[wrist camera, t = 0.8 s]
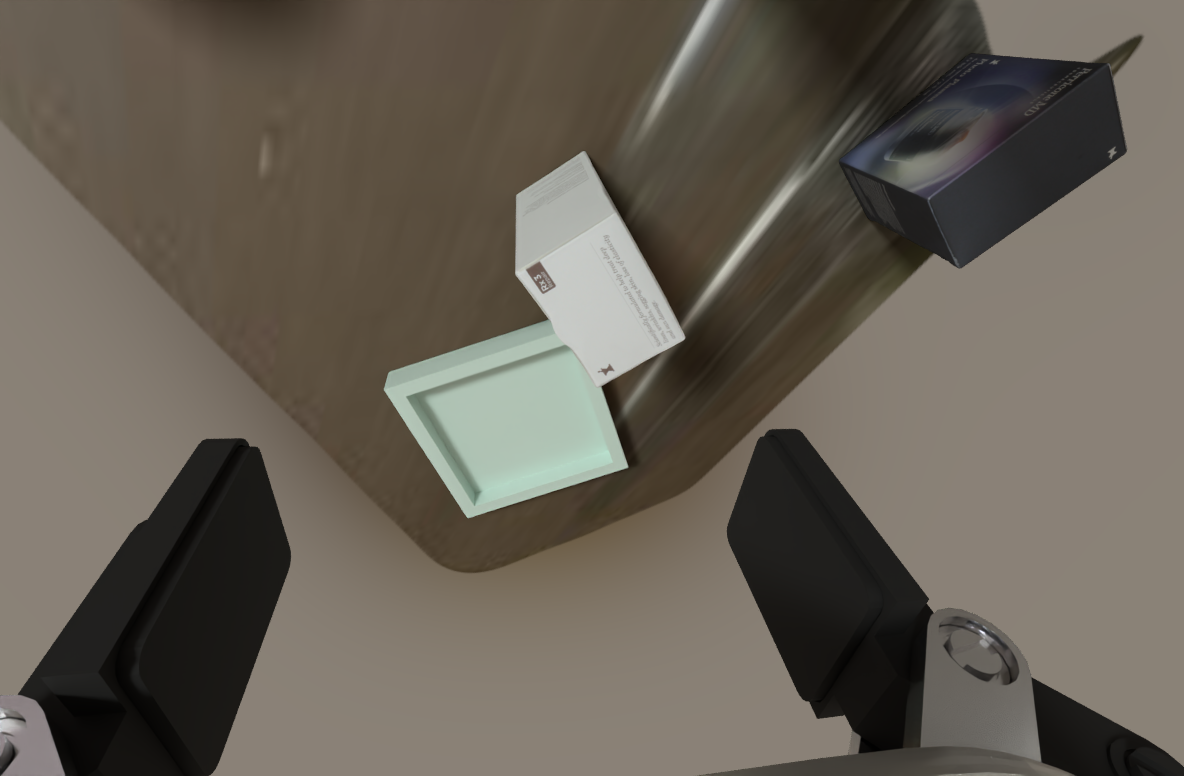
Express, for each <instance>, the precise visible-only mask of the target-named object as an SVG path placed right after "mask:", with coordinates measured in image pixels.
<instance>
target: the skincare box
mask: <svg viewBox="0 0 1184 776" xmlns="http://www.w3.org/2000/svg"><path fill="white" fill-rule="evenodd" d="M515 274H516V276H517V277H518V278H519V280H520V281H521V282H522V284H523V285H524V286H525V288H526V289H527V290H528V292H529V293H530V294H531V296H532V297H533V298H534V299H535V301H536V302H537V304H538V305H539V306H540V308H541V309H542V310H543V312H544V313H545V315H546V316H547V317H548V319H549V320H550V322H551V323H552V326H553V329H554V331H555V333H556V335H557V336H558V338H559V339H560V340H561V341H562V342H563V343H564V344H565V345H566V346H568V347H569V348H570V349H571V350H572V352H573V353H574V355H575V356H576V357H577V359H578V360H579V362H580V363H581V364H582V366H583V367H584V369H585V371H586V372H587V374H588V376H589V378H590V379H591V381H592V383H593V384H594V385H595V387H597V388H599V387H601V386H603V385H604V384H606V383H608V382H609V381H611V380H613V379H615V378H617V377H619V376H620V375H622V374H624V373H626V372H627V371H629V370H631V369H633V368H634V367H636V366H638V365H639V364H641V363H643V362H645V361H646V360H648V359H650V358H652V357H653V356H655V355H657V354H659V353H661V352H663V351H665V350H667V349H669V348H671V347H673V346H674V345H676V344H678V343H680V342H681V341H683V340H684V339H685V335H684V333H683V331H682V329H681V327H680V325H679V323H678V321H677V319H676V317H675V315H674V313H673V311H672V309H671V307H670V305H669V303H668V301H667V299H666V297H665V295H664V293H663V291H662V289H661V288H660V286H659V284H658V282H657V280H656V278H655V277H654V275H653V273H652V271H651V269H650V267H649V266H648V264H647V262H646V260H645V259H644V257H643V255H642V253H641V252H640V250H639V248H638V246H637V244H636V243H635V241H634V239H633V237H632V235H631V234H630V232H629V230H628V228H627V226H626V225H625V223H624V221H623V219H622V218H621V216H620V214H619V212H618V210H617V209H616V207H615V205H614V203H613V202H612V200H611V198H610V196H609V194H608V193H607V191H606V189H605V187H604V185H603V184H602V182H601V180H600V178H599V176H598V174H597V172H596V171H595V169H594V167H593V165H592V163H591V161H590V159H589V157H588V155H587V153H586V152H585V151H583V152H581V153H580V154H578V155H577V156H575V157H574V158H572V159H571V160H569V161H568V162H566V163H565V164H563V165H562V166H560V167H559V168H557V169H556V170H554V171H553V172H551V173H550V174H548V175H546V176H545V177H543V178H542V179H540V180H539V181H537V182H536V183H534V184H533V185H531V186H530V187H528V188H527V189H525V190H523V191H522V192H520V193H519V194H517V195H516V271H515Z"/></svg>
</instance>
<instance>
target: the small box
mask: <svg viewBox="0 0 1184 776" xmlns="http://www.w3.org/2000/svg"><path fill="white" fill-rule="evenodd" d="M1126 152H1127V146H1126V142H1125V137H1124V132H1123V128H1122V121H1121V117H1120V112H1119V107H1118V101H1117V97H1116V91H1115V86H1114V81H1113V76H1112V71H1111V66H1110V64H1109V63H1086V62H1076V61H1062V60H1049V59H1048V60H1047V59H1033V58H1022V57H1010V56H998V55H986V54H975V53H971V54H969V55H968V56H967V57H966V58H964V59H963V60H962V61H961V62H959V63H958V64H957V65H956V66H955V67H953V68H952V69H951V70H950V71H948V72H947V73H946V74H945V75H943V76H942V77H941V78H940V79H939V80H937V81H936V82H935V83H934V84H932V85H931V86H930V87H929V88H928V89H926V90H925V91H924V92H922V93H921V94H920V95H919V96H918V97H917V98H915V99H914V100H913V101H911V102H910V103H909V104H908V105H907V106H905V107H904V108H903V109H902V110H900V111H899V112H898V113H897V114H895V115H894V116H893V117H892V118H891V119H889V120H888V121H887V122H886V123H884V124H883V125H882V126H881V127H879V128H878V129H877V130H876V131H874V132H873V133H872V134H871V135H869V136H868V137H867V138H866V139H865V140H863V141H862V142H861V143H860V144H858V145H857V146H856V147H855V148H853V149H852V150H851V151H850V152H848V153H847V154H846V155H845V156H844V157H842V158H841V159H840V160H839V163H840V165H841V167H842V170H843V171H844V173H845V175H846V177H847V179H848V181H849V183H850V185H851V187H852V189H853V191H854V193H855V195H856V196H857V198H858V200H859V202H860V204H861V206H862V208H863V210H864V212H865V214H866V215H867V217H868V219H870V220H872V221H876V222H877V223H879V224H881V225H883V226H886V227H887V228H888V229H890V230H892V231H894V232H896V233H898V234H900V235H901V236H903V237H905V238H907V239H909V240H911V241H912V242H914V243H916V244H918V245H919V246H921V247H923V248H925V249H928V250H929V251H931V252H933V253H935V254H937V255H938V256H940V257H941V258H943V259H945V260H947V261H949V262H950V263H951V264H953V265H954V266H956V267H957V268H962V267H963V266H965V265H966V264H968V263H969V262H971V261H972V260H974V259H975V258H977V257H978V256H979V255H981V254H982V253H984V252H985V251H986V250H988V249H989V248H991V247H992V246H993V245H995V244H996V243H998V242H999V241H1001V240H1002V239H1004V238H1005V237H1006V236H1008V235H1009V234H1011V233H1012V232H1014V231H1015V230H1016V229H1018V228H1019V227H1021V226H1022V225H1024V224H1025V223H1026V222H1028V221H1030V220H1031V219H1032V218H1034V217H1035V216H1037V215H1038V214H1039V213H1041V212H1042V211H1044V210H1045V209H1047V208H1048V207H1050V206H1051V205H1052V204H1054V203H1055V202H1057V201H1058V200H1060V199H1061V198H1062V197H1064V196H1065V195H1067V194H1068V193H1070V192H1071V191H1072V190H1074V189H1075V188H1077V187H1078V186H1079V185H1081V184H1082V183H1084V182H1085V181H1087V180H1088V179H1090V178H1091V177H1092V176H1094V175H1095V174H1097V173H1098V172H1100V171H1101V170H1103V169H1104V168H1106V167H1107V166H1108V165H1110V164H1111V163H1113V162H1114V161H1115V160H1117V159H1118V158H1120V157H1121V156H1123V155H1124V154H1125V153H1126Z"/></svg>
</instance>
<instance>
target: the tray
mask: <svg viewBox="0 0 1184 776" xmlns="http://www.w3.org/2000/svg"><path fill="white" fill-rule="evenodd" d="M384 391H385V392H386V394H387V395H388V397H389V398H390V400H391V401H392V403H393V404H394V406H395V408H396V409H397V411H398V412H399V414H400V415H401V417H402V418H403V420H404V421H405V423H406V424H407V426H408V428H409V429H410V431H411V432H412V434H413V435H414V437H415V438H416V440H417V441H418V443H419V444H420V446H421V447H422V449H423V451H424V452H425V454H426V455H427V457H428V458H429V460H430V461H431V463H432V464H433V466H434V467H435V469H436V471H437V472H438V474H439V475H440V477H441V478H442V480H443V481H444V483H445V484H446V486H447V487H448V489H449V490H450V492H451V494H452V495H453V497H454V498H455V500H456V501H457V503H458V504H459V506H460V507H461V509H462V510H463V512H464V514H465V515H466V517H467V518H470V517H473V516H476V515H479V514H483V513H486V512H489V511H492V510H495V509H498V508H502V507H505V506H508V505H511V504H514V503H517V502H521V501H524V500H527V499H530V498H533V497H536V496H540V495H543V494H546V493H549V492H552V491H556V490H559V489H562V488H565V487H568V486H571V485H575V484H578V483H581V482H584V481H587V480H590V479H594V478H597V477H600V476H603V475H606V474H609V473H613V472H616V471H619V470H622V469H625V468H628V465H627V461H626V458H625V455H624V451H623V448H622V445H621V442H620V439H619V436H618V433H617V430H616V428H615V425H614V422H613V419H612V416H611V413H610V410H609V407H608V404H607V401H606V398H605V395H604V392H603V389H602V386H601V387H599V388H597V387H595V385H594V384H593V383H592V381H591V379H590V378H589V376H588V374H587V372H586V371H585V369H584V367H583V366H582V364H581V363H580V362H579V360H578V359H577V357H576V356H575V355H574V353H573V352H572V350H571V349H570V348H569V347H568V346H566V345H565V344H564V343H563V342H562V341H561V340H560V339H559V338H558V336H557V335H556V333H555V331H554V329H553V326H552V323H551V322H550V320H546V321H543V322H540V323H537V324H534V325H531V326H528V327H525V328H522V329H519V330H516V331H513V332H510V333H507V334H504V335H501V336H497V337H494V338H491V339H488V340H485V341H482V342H479V343H476V344H473V345H470V346H467V347H464V348H461V349H458V350H455V351H452V352H449V353H446V354H443V355H440V356H436V357H433V358H430V359H427V360H424V361H421V362H418V363H415V364H412V365H409V366H406V367H403V368H400V369H397V370H394V371H391V372H389V373H388V377H387V380H386V384H385V387H384Z"/></svg>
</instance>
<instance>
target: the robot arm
mask: <svg viewBox="0 0 1184 776" xmlns="http://www.w3.org/2000/svg"><path fill="white" fill-rule="evenodd" d="M727 537H728V541H729V544H730V546H731V549H732V551H733V553H734V555H735V557H736V559H737V562H738V564H739V566H740V568H741V570H742V572H743V575H744V577H745V579H746V581H747V583H748V585H749V588H750V590H751V592H752V594H753V596H754V598H755V601H756V603H757V605H758V607H759V609H760V612H761V613H762V616H763V618H764V620H765V622H766V625H767V627H768V629H769V631H770V633H771V635H772V637H773V640H774V642H775V644H776V646H777V648H778V650H779V653H780V655H781V657H782V659H783V661H784V663H785V666H786V668H787V670H788V672H789V674H790V677H791V679H792V681H793V683H794V685H795V687H796V690H797V692H798V693H799V695H800V696H801V698H802V699H803V700H805V701H809V702H810V704H811V706H812V709H813V711H814V713H815V715H816V717H817V718H818V719H820V718H828V717H835V716H843V715H845V716H846V718H847V720H848V722H849V724H850V726H851V728H852V734H851V740H850V747H849V752H848V755H845V756H837V757H828V758H820V759H813V760H805V761H798V762H791V763H784V764H778V765H770V766H763V767H756V768H749V769H741V770H734V771H728V772H720V773H713V774H706V775H699V776H1184V767H1183V766H1182V765H1181V764H1180V763H1179V762H1177V761H1176V760H1175V759H1174V758H1173V757H1171V756H1170V755H1169V754H1168V753H1166V752H1165V751H1164V750H1162V749H1160V748H1159V747H1157V746H1156V745H1154V744H1153V743H1151V742H1150V741H1148V740H1146V739H1144V738H1143V737H1141V736H1139V735H1137V734H1135V733H1133V732H1132V731H1130V730H1128V729H1126V728H1124V727H1122V726H1120V725H1119V724H1117V723H1114V722H1113V721H1111V720H1109V719H1107V718H1106V717H1104V716H1102V715H1100V714H1098V713H1096V712H1095V711H1093V710H1091V709H1089V708H1087V707H1085V706H1083V705H1082V704H1080V703H1078V702H1076V701H1074V700H1072V699H1071V698H1068V697H1067V696H1065V695H1063V694H1061V693H1059V692H1058V691H1056V690H1054V689H1052V688H1050V687H1048V686H1047V685H1045V684H1043V683H1041V682H1039V681H1037V680H1036V679H1033V678H1032V677H1031V673H1030V670H1029V667H1028V663H1027V661H1026V659H1025V658H1024V656H1023V654H1022V653H1021V651H1020V650H1019V648H1018V647H1017V646H1016V645H1015V644H1014V643H1013V642H1012V640H1011V639H1010V638H1009V637H1008V636H1007V635H1006V634H1005V633H1003V632H1002V631H1001V630H1000V629H998V628H997V627H996V626H994V625H993V624H992V623H990V622H988V621H986V620H985V619H983V618H981V617H979V616H978V615H976V614H973V613H970V612H967V611H964V610H961V609H954V608H945V609H941V610H937V611H936V612H935V613H933V611H932V610H931V609H930V607H929V606H928V605H927V602H928V600H929V598H928V597H927V596H926V594H925V593H924V592H923V590H922V589H921V588H920V586H919V585H918V584H917V582H916V581H915V580H914V579H913V577H912V576H911V575H910V573H909V572H908V571H907V569H906V568H905V567H904V565H903V564H902V563H901V561H900V560H899V559H898V558H897V556H896V555H895V554H894V553H893V551H892V550H891V549H890V547H889V546H888V544H887V543H886V542H885V541H884V539H883V538H882V537H881V536H880V534H879V533H878V531H877V530H876V529H875V527H874V526H873V525H872V523H871V522H870V521H869V520H868V518H867V517H866V516H865V514H864V513H863V512H862V510H861V509H860V508H859V506H858V505H857V504H856V502H855V501H854V500H853V499H852V497H851V496H850V495H849V493H848V492H847V491H846V489H845V488H844V487H843V485H842V484H841V483H840V481H839V480H838V479H837V478H836V476H835V475H834V474H833V472H832V471H831V470H830V468H829V467H828V466H827V465H826V463H825V462H824V460H823V459H822V458H821V457H820V455H819V454H818V453H817V451H816V450H815V449H814V447H813V446H812V445H811V443H810V442H809V441H808V440H807V438H806V437H805V436H804V434H803V433H802V432H801V431H800V430H797V429H772V430H769V431H768V432H767V433H766V434H765V436H764V437H760V438H759V439H758V441H757V444H756V447H755V449H754V452H753V455H752V458H751V461H750V464H749V466H748V469H747V472H746V475H745V478H744V480H743V484H742V486H741V489H740V492H739V495H738V497H737V500H736V503H735V506H734V509H733V511H732V514H731V517H730V520H729V523H728V526H727ZM290 561H291V551H290V547H289V543H288V541H287V537H286V533H285V530H284V527H283V524H282V520H281V517H280V514H279V510H278V507H277V504H276V501H275V498H274V494H273V491H272V488H271V484H270V481H269V478H268V475H267V471H266V468H265V465H264V462H263V458H262V455H261V452H260V450H259V448H258V447H250V446H249V444H248V442H247V441H246V440H245V439H241V438H238V439H237V438H235V439H206V440H203V441H202V442H201V443H200V444H199V445H198V447H197V448H196V449H195V451H194V452H193V454H192V455H191V457H190V459H189V460H188V461H187V463H186V464H185V466H184V467H183V468H182V470H181V472H180V473H179V474H178V476H177V477H176V479H175V480H174V482H173V483H172V485H171V486H170V487H169V489H168V490H167V492H166V493H165V495H164V496H163V498H162V499H161V501H160V502H159V504H158V505H157V507H156V508H155V509H154V511H153V512H152V514H151V515H150V517H149V518H148V520H145V521H143V522H142V523H140V524H138V525H137V526H136V527H135V528H134V530H133V531H132V532H131V533H130V534H129V536H128V537H127V539H126V540H125V542H124V543H123V544H122V546H121V547H120V549H119V550H118V552H117V553H116V555H115V556H114V558H113V559H112V560H111V562H110V563H109V564H108V566H107V567H106V569H105V570H104V572H103V573H102V574H101V576H100V578H99V579H98V580H97V582H96V583H95V585H94V586H93V587H92V589H91V590H90V592H89V593H88V595H87V596H86V597H85V599H84V600H83V602H82V603H81V605H80V606H79V607H78V609H77V610H76V612H75V613H74V615H73V616H72V618H71V619H70V620H69V622H68V623H67V625H66V626H65V628H64V629H63V631H62V632H61V633H60V635H59V636H58V638H57V639H56V641H55V642H54V643H53V645H52V646H51V648H50V649H49V651H48V652H47V654H46V655H45V656H44V658H43V659H42V661H41V662H40V663H39V665H38V666H37V668H36V669H35V671H34V672H33V674H32V675H31V676H30V678H29V679H28V681H27V682H26V683H25V685H24V686H23V688H22V689H21V691H20V692H19V693H18V695H0V776H209V775H211V774H212V773H213V772H214V770H215V769H216V767H217V765H218V763H219V761H220V758H221V755H222V752H223V750H224V747H225V744H226V742H227V738H228V736H229V733H230V730H231V728H232V725H233V722H234V719H235V716H236V714H237V711H238V708H239V706H240V703H241V700H242V697H243V694H244V692H245V689H246V686H247V684H248V681H249V678H250V675H251V672H252V669H253V667H254V664H255V662H256V659H257V656H258V653H259V650H260V648H261V645H262V642H263V639H264V637H265V634H266V631H267V628H268V626H269V623H270V620H271V617H272V615H273V612H274V609H275V606H276V604H277V601H278V598H279V595H280V593H281V590H282V587H283V584H284V582H285V579H286V576H287V573H288V570H289V567H290Z"/></svg>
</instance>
